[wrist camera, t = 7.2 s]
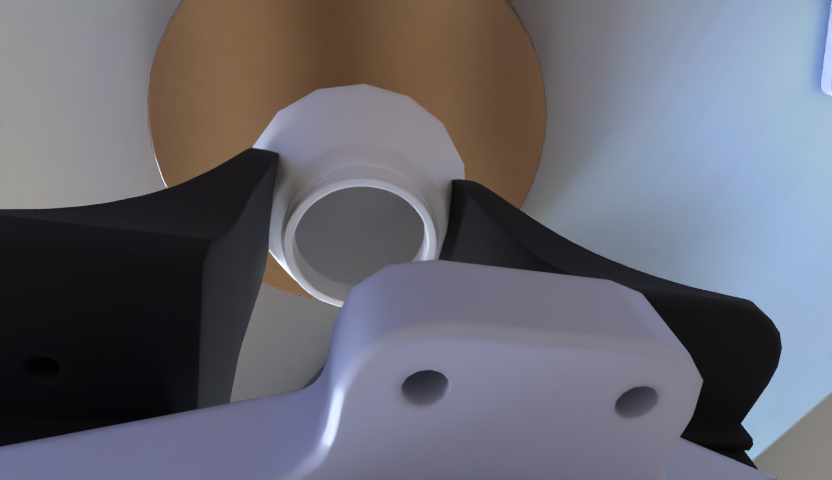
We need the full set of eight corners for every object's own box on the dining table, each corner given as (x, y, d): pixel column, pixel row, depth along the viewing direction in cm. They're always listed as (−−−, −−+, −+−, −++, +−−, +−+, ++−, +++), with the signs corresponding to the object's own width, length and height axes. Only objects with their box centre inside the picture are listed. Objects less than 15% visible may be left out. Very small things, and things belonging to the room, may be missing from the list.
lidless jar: (490, 215, 14) (398, 37, 12) (523, 280, 12) (415, 72, 9) (324, 299, 15) (204, 149, 13) (321, 378, 13) (171, 209, 10)
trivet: (505, -141, 13) (514, -143, 13) (559, 237, 19) (567, 249, 18) (71, -8, 14) (57, -3, 13) (251, 324, 19) (249, 340, 19)
